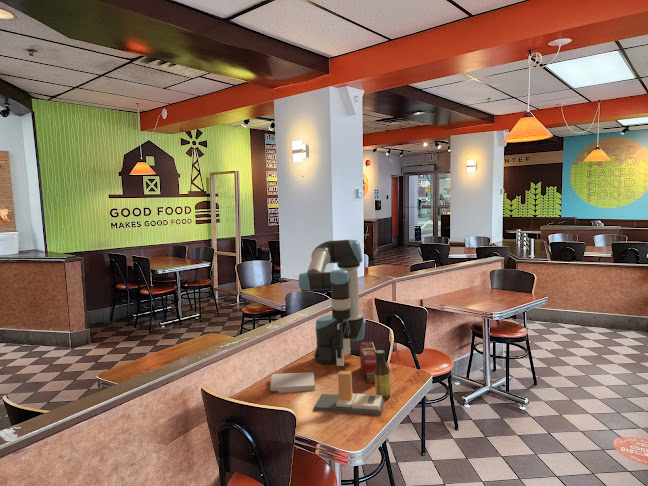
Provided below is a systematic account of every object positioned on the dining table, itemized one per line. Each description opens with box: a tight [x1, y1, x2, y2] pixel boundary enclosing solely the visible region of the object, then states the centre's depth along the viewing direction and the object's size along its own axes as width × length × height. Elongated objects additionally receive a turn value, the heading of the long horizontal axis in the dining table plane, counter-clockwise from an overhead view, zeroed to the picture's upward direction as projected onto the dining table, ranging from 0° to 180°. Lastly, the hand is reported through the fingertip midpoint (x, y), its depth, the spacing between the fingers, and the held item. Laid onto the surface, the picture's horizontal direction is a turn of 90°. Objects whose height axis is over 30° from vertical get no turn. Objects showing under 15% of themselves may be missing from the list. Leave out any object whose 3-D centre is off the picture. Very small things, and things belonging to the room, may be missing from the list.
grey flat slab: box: [269, 371, 316, 394], centre depth 201 cm, size 15×3×20 cm
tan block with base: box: [336, 370, 356, 407], centre depth 177 cm, size 10×6×12 cm, turn 166°
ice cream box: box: [359, 341, 377, 385], centre depth 207 cm, size 20×6×13 cm, turn 1°
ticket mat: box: [313, 393, 385, 416], centre depth 177 cm, size 12×27×3 cm, turn 76°
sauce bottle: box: [374, 349, 392, 400], centre depth 183 cm, size 6×6×20 cm
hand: (343, 359), depth 176 cm, fingers open, 13 cm apart
